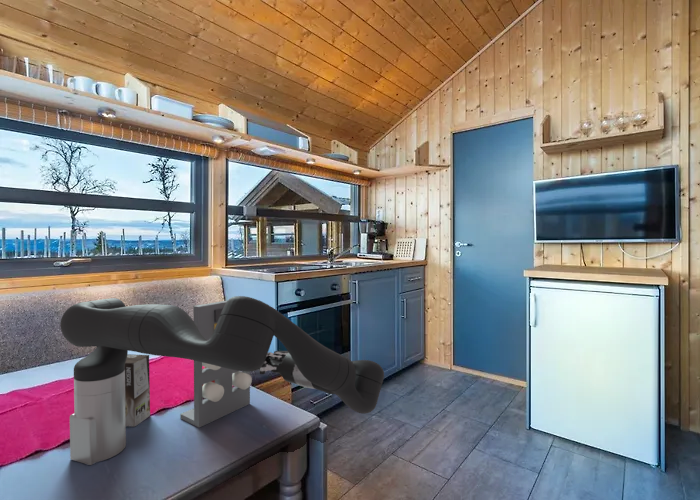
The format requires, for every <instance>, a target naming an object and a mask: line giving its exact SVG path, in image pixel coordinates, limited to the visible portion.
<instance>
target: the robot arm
mask: <svg viewBox="0 0 700 500" xmlns="http://www.w3.org/2000/svg"><path fill="white" fill-rule="evenodd" d="M227 300H228V301H227ZM227 300H226V301H227V302H226V304H225V306H224V308H223V310H222V312H221V315H220V317H219V320H218V322H217V325H216V327H215V329H214V332H213V334H212V336H211V338H210V339H209V340H208V341H207V340H206V339H205V338H204V337H203V336H202V335H201V333H200V332H199V330H198V328H197V326H196V325H195V323H194V319H192V317H191V316H190V315H189V314H188V312H187V311H185V310H184V308H181V307H179V306H176V305H172V304H171V305H170V304H160V303H159V304H157V303H152V304H151V303H149V304H137V305H129V306H127V305H126V304H125V303H124V302H123V300H122V299H119V298H116V297H114V298H113V297H112V298H102V299H94V300H90V301H89V300H88V301H82V302H77V303H75V304H73V305H71V306H69V307H68V308H66V310H65V311H64V312H63V314H62V316H61V319H60V323H59V324H60V331H61V333H62V335H63V337H64V338H65V340H66V341H67V342H69V344H71V345H73V346H74V347H78V348H87V347H88V348H89V347H90V348H91V347H95V348H94V350H92V351H91V352H90V353H89V354H87V356H85V357H83V358H81V359H80V360H79V361H77V362H76V363H75V365H74V367H73V403H74V404H73V406H74V408H73V409H74V411H73V412H74V413H72V414H70V415H69V444H70V445H69V449H70V450H69V451H70V452H69V453H70V454H69V455H70V460H71V461H74V462H77V463H81V464H85V465H88V466H93V465H94V464H96V463H98V462H103V461H106V460H108V459H111V458H113V457H115V456H117V455H118V454H120V453H121V452H122V451H123V450H124V449H125V448H126V446H127V436H126V435H127V434H126V433H127V430H126V429H127V428H126V427H127V426H126V413H125V362H126V359H127V354H129V352H130V351H131V352H135V353H140V354H143V355H151V356H158V357H170V358H179V359H186V360H189V361H190V360H191V361H194V360H195V361H199V362H203V363H207V364H211V365H215V366H219V367H223V368H228V369H232V370H237V371H240V372H242V371H247V372H249V371H250V372H256V371H259V374H260V375H265V374H266V373H267V371H270V372H272V373H274V374H275V373H276V374H280V376H281V378H282V379H283V380H284V381H285V382H288V383H290V384H294V385H297V386H300V387H304V388H307V389H315V390H316V391H321V392H324V393H327V394H331V395H336V397H338V398H339V399H340V400H341V401H342V402H343V403H344V404H345V405H346V406H347V407H348V408H349V409H351V410H352V411H354V412H356V413H359V414H364V415H365V414H369V413H371V412H373V411H374V410H375V408H376V407H377V404H378V401H379V397H380V393H381V389H382V385H383V382H384V378H385V371H384V369H383V368H382V366H381V365H380V364H379V363H378V362H375V361H373V360H369V359H368V360H367V359H360V360H359V359H358V360H351V359H349V358H348V357H346V356H345V355H341V354H340V353H337V351H334V350H332V349H330V348H329V347H327V346H325V345H324V344H323V343H320V342H318V341H317V340H316V339H314V338H313V337H312V336H310V335H309V334H308V333H307V332H305V331H304V329H302V328H301V327H299V326H298V325H297V324H296V323H294V322H293V321H292V320H290V319H289V318H288V317H286V316H285V315H284V314H283V313H282V312H280V311H278V310H277V309H276V308H274V307H273V306H272V305H270V304H268V303H266V302H264V301H261V300H259V299H257V298H253V297H250V296H244V295H240V296H239V295H238V296H232V297H230V298H229V299H227ZM274 337H275V338H277V339H278V341H280V343H282V345H283V346H284V347H285V349H286V350H274V351H273V352H270V348H271V345H272V342H273V339H274Z"/></svg>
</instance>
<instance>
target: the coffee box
mask: <svg viewBox="0 0 700 500" xmlns="http://www.w3.org/2000/svg"><path fill="white" fill-rule="evenodd" d="M150 379H151V378H150V354H132V353H131V354H130V353H128V354H127V359H126V362H125V413H126V427H133V428H134V427H137V426H138V425H140V424H141V423H142V422H143V421H145V420H146V419H147V418H149V417H150V416H151V391H150V389H151V385H150V384H151V382H150Z"/></svg>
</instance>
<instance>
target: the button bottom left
mask: <svg viewBox="0 0 700 500" xmlns="http://www.w3.org/2000/svg"><path fill="white" fill-rule="evenodd" d="M223 394H224V388H223V386H221V385H218V384H216V383H213V382H208V383H205V384H204V385H203V386H202V398H204V399H208V400H211V401H213V402H217V401H219V400H220V399H221V398H222V397H223Z"/></svg>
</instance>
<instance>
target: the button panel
mask: <svg viewBox="0 0 700 500" xmlns="http://www.w3.org/2000/svg"><path fill="white" fill-rule="evenodd" d="M228 300H229V299H227V300H222V301H216V302H209V303H204V304H197V305H193V306H192V307H193V311H192V313H193V319H192V320H193V321H194V323H195V325H196V326H197V328H198V330H199V332H200V333H201V335H202V336H203V337H204V338H205V339H206V340H207V341H208V340H209V339H210V338H211V336H212V334H213V332H214V329H215V327H216V325H217V322H218V320H219V317H220V315H221V312H222V310H223V308H224V306H225V304H226V302H227V301H228ZM235 372H238V371H237V370H232V369H228V368H223V367H221V368H220V369H218V370H213V369H210V368H205V369H203V366H202V362H199V361H195V360H193V408H192V409H188V410H187V411H184V412H182V413H180V415H179V417H180V419H181V420H183V421H184V422H186V423H189V424H191V425H192V426H195V427H197V428H199V429H200V428H201V427H204V426H205V425H208V424H210V423H212V422H214V421H216V420H219V419H221V418H223V417H225V416H228V415H229V414H231V413H234V412H236V411H237V410H240V409H242V408H243V407H246V406H248V405H250V404H251V385H250V386H249V387H248V388H247V389H245V390H243V389H240V388H238V387H235V386H232V374H233V373H235ZM241 372H243V373H246V374H249V375H250V376H251V371H249V372H247V371H241ZM213 380H215V383H216V384H218V385H221V386H223V388H224V394H223V397H222V398H221V399H220V400H219V401H217V402H213V401H211V400H208V399H206V398H204V399H203V397H202V385H203V384H205V383H208V382H211V381H213Z"/></svg>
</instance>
